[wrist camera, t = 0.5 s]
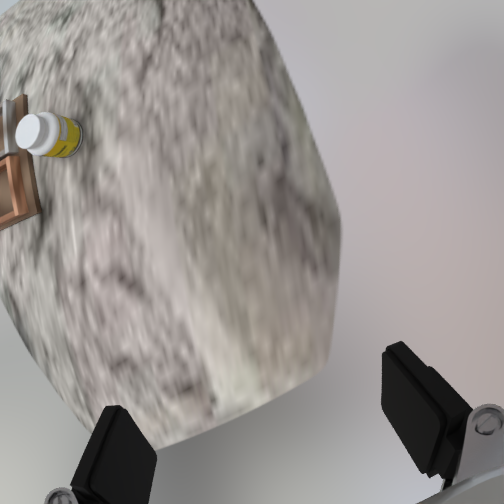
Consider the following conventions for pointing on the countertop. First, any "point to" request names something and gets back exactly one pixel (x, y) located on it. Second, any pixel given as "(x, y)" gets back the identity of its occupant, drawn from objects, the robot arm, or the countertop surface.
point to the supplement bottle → (48, 135)
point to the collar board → (15, 168)
